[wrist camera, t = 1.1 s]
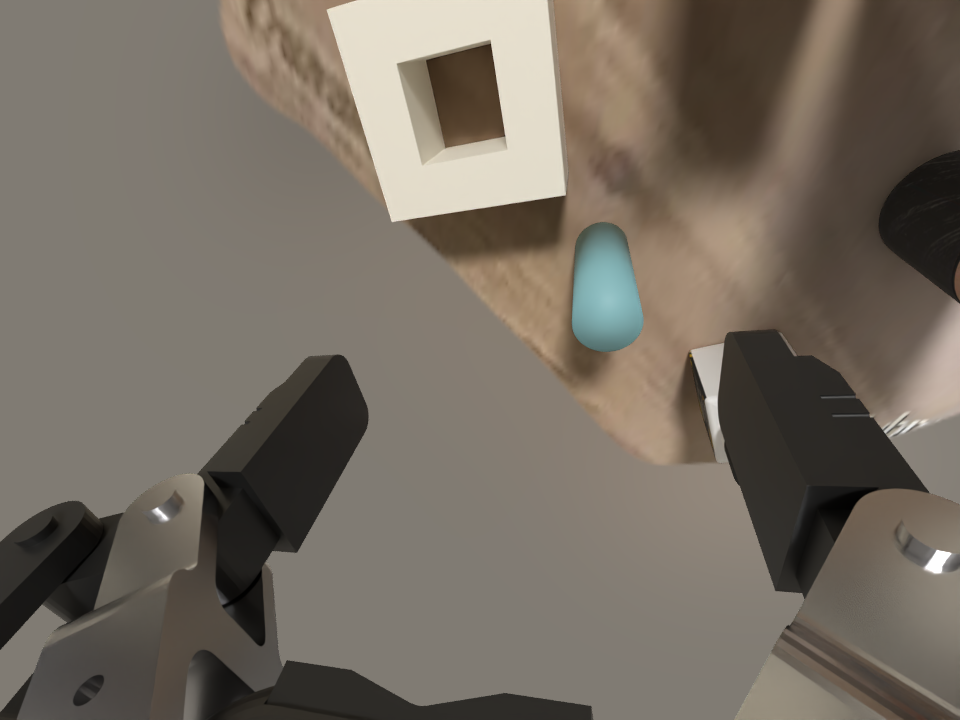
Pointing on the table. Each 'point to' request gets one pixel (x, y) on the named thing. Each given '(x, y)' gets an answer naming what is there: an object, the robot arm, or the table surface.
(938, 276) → the travel mug
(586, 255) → the peg
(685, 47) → the table surface
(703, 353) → the medicine bottle
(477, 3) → the socket block
